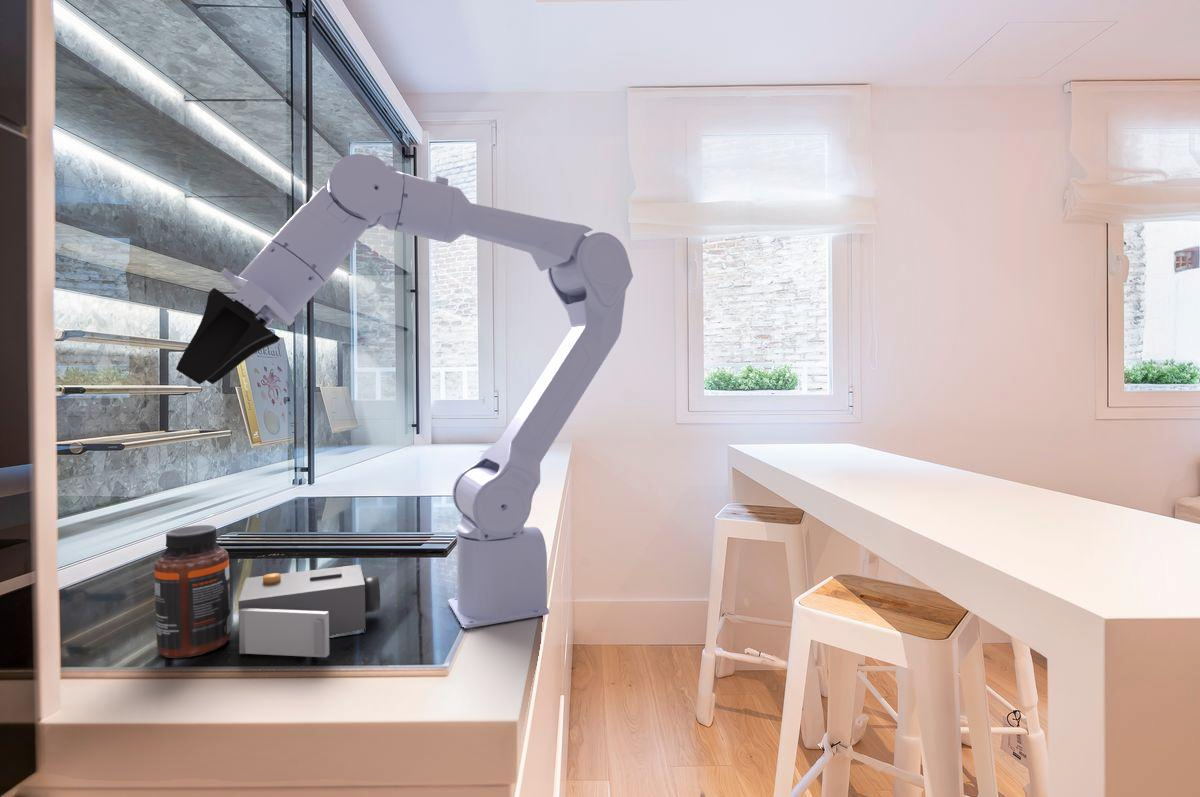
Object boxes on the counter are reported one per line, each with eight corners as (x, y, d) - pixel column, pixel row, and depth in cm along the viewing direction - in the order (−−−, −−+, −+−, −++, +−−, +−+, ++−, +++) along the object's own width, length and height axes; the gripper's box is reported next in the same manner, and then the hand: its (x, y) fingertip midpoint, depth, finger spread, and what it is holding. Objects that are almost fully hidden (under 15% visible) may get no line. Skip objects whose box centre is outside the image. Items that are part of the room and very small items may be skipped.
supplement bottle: (245, 635, 61) (243, 522, 61) (201, 663, 56) (198, 539, 55) (189, 632, 62) (187, 521, 62) (140, 659, 56) (136, 536, 56)
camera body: (376, 606, 69) (376, 557, 69) (383, 630, 63) (382, 576, 62) (246, 625, 64) (245, 572, 63) (239, 653, 57) (238, 594, 57)
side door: (329, 653, 57) (329, 611, 56) (322, 659, 55) (322, 616, 55) (243, 649, 57) (242, 607, 57) (234, 655, 56) (233, 612, 56)
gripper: (263, 248, 63) (168, 352, 60) (251, 213, 50) (129, 344, 47) (324, 294, 66) (236, 396, 62) (328, 271, 52) (216, 399, 49)
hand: (195, 377), depth 55 cm, fingers open, 7 cm apart
